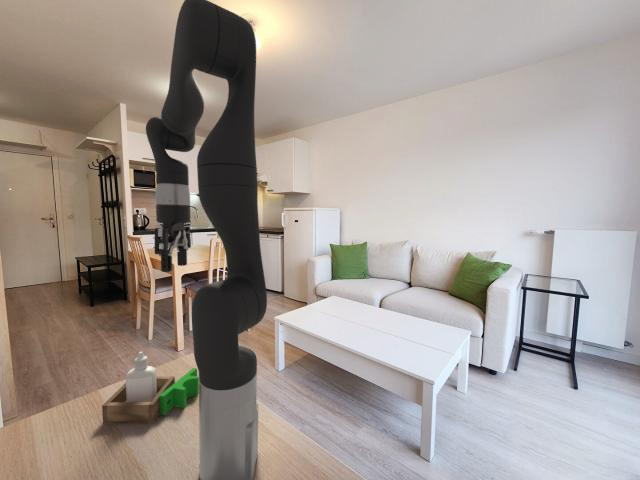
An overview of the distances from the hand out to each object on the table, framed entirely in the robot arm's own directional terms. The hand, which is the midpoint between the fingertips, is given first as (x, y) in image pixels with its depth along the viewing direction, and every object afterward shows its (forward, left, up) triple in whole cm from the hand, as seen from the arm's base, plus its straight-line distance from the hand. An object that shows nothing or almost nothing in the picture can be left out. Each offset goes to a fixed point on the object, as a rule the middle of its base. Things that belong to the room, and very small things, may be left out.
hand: (175, 268), depth 70 cm
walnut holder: (+3, +10, -30) cm, 31 cm away
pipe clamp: (-5, +8, -30) cm, 31 cm away
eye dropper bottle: (+3, +10, -29) cm, 31 cm away
